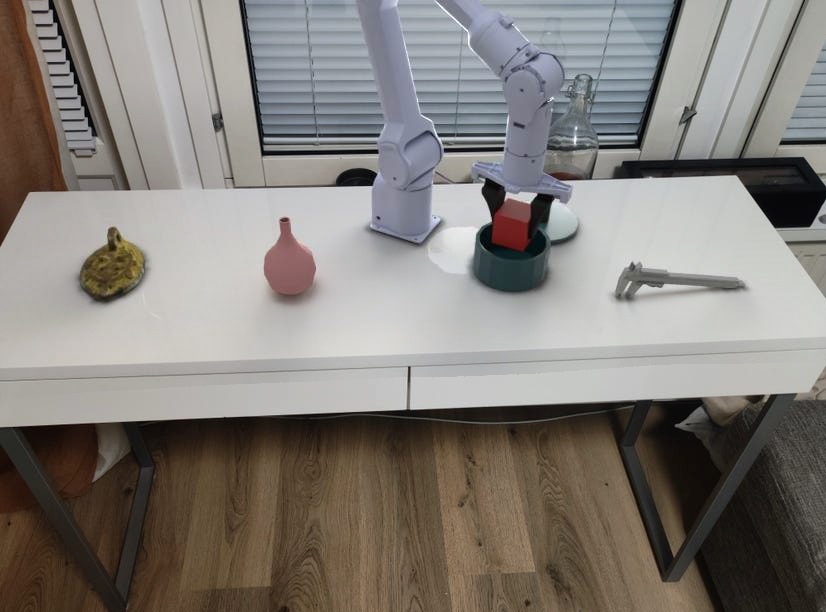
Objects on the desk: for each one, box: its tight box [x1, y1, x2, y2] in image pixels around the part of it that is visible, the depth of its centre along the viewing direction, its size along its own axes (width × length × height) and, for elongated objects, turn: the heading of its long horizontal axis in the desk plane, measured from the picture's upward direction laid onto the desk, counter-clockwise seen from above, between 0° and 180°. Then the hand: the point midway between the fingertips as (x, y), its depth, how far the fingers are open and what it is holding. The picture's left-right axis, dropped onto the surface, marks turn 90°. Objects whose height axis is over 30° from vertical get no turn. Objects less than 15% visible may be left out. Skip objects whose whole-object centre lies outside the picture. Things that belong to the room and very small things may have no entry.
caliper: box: [614, 260, 746, 299], centre depth 112 cm, size 20×1×6 cm, turn 99°
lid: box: [521, 199, 579, 244], centre depth 125 cm, size 12×12×4 cm
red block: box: [492, 197, 531, 252], centre depth 112 cm, size 5×5×5 cm
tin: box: [472, 221, 552, 293], centre depth 116 cm, size 11×11×6 cm
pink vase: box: [263, 216, 317, 295], centre depth 110 cm, size 8×8×12 cm
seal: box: [79, 225, 146, 302], centre depth 115 cm, size 9×5×15 cm
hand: (514, 230), depth 113 cm, fingers closed on red block, 5 cm apart
